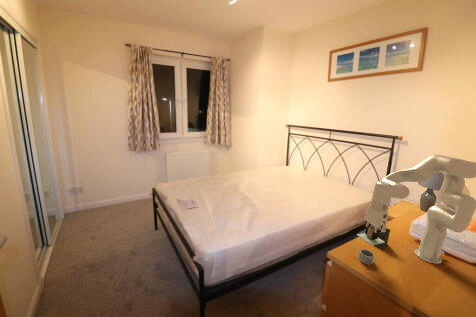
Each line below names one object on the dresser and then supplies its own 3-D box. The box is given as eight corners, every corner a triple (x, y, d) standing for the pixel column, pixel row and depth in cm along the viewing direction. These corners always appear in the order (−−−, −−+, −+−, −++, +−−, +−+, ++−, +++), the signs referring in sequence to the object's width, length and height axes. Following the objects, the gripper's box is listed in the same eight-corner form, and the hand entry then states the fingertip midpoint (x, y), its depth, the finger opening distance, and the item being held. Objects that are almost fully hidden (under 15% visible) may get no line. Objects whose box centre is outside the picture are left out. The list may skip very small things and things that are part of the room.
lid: (368, 233, 128) (371, 222, 126) (384, 242, 119) (387, 231, 118) (356, 235, 124) (359, 224, 123) (372, 245, 116) (375, 233, 114)
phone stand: (383, 250, 136) (388, 232, 134) (372, 245, 140) (377, 227, 138) (387, 244, 143) (391, 227, 140) (376, 240, 147) (381, 223, 144)
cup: (365, 255, 129) (367, 248, 128) (376, 264, 122) (377, 257, 121) (355, 256, 127) (356, 249, 126) (364, 265, 121) (366, 258, 120)
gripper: (399, 212, 110) (389, 245, 115) (372, 198, 126) (365, 228, 130) (386, 212, 109) (377, 246, 113) (360, 198, 124) (354, 228, 128)
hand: (371, 236), depth 121 cm, fingers closed on lid, 4 cm apart
